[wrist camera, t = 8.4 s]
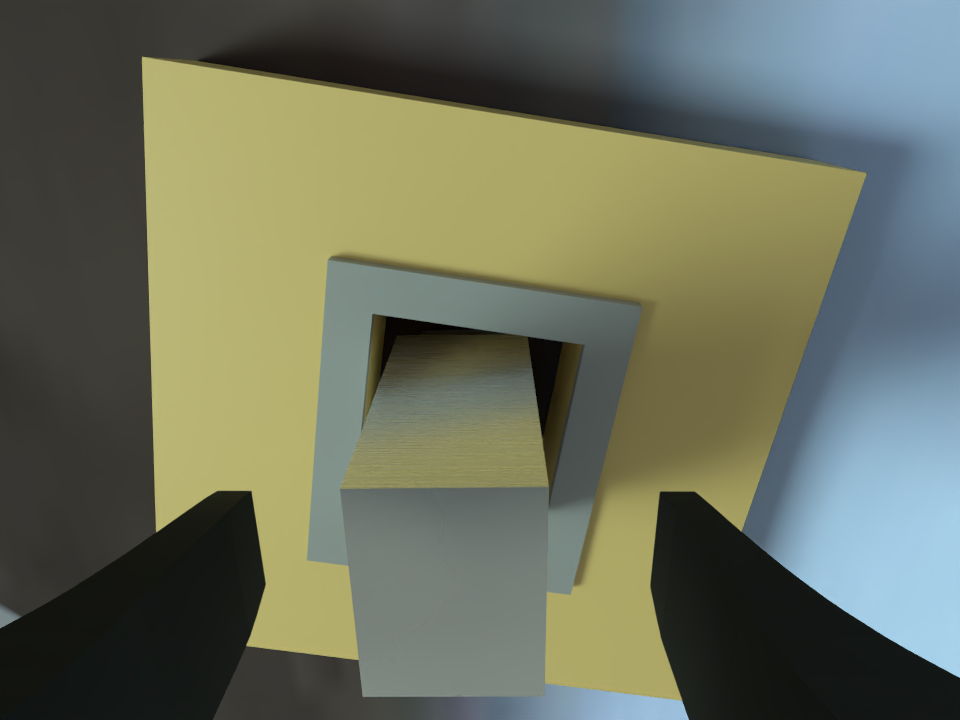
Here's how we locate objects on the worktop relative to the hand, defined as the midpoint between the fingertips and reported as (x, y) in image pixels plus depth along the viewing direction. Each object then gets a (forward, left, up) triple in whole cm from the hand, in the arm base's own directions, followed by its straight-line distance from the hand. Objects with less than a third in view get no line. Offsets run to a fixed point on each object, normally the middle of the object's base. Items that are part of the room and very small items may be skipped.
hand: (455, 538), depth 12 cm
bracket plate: (0, 0, -6) cm, 6 cm away
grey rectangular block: (0, 0, -6) cm, 6 cm away
